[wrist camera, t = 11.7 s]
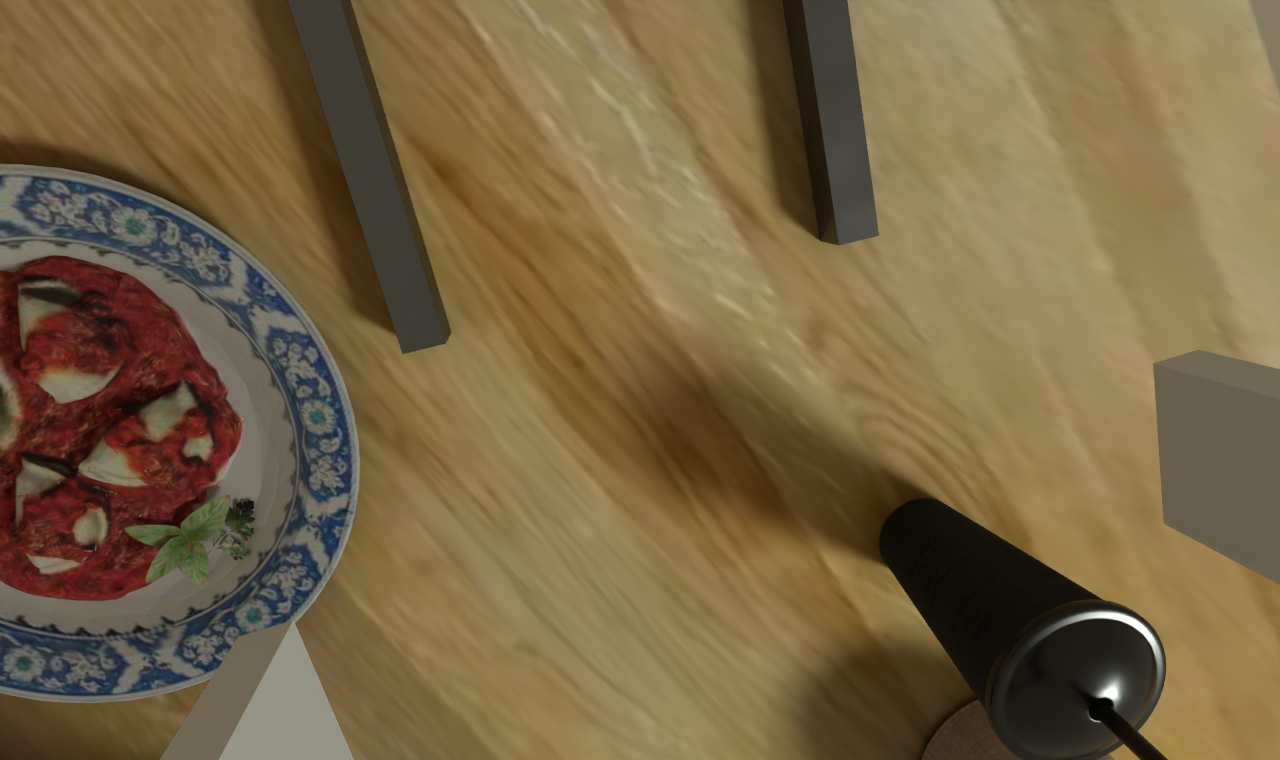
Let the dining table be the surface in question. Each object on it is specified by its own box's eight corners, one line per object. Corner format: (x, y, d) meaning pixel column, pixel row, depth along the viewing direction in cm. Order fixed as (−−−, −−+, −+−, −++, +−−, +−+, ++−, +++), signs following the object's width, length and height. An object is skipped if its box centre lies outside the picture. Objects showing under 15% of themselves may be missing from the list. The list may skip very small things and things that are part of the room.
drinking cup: (833, 516, 43) (1074, 791, 24) (954, 451, 43) (1292, 674, 24) (884, 618, 45) (1142, 945, 26) (998, 556, 45) (1341, 838, 26)
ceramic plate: (-368, 355, 33) (-452, 372, 30) (136, 51, 33) (98, 39, 30) (52, 759, 41) (16, 803, 38) (468, 514, 40) (463, 540, 37)
